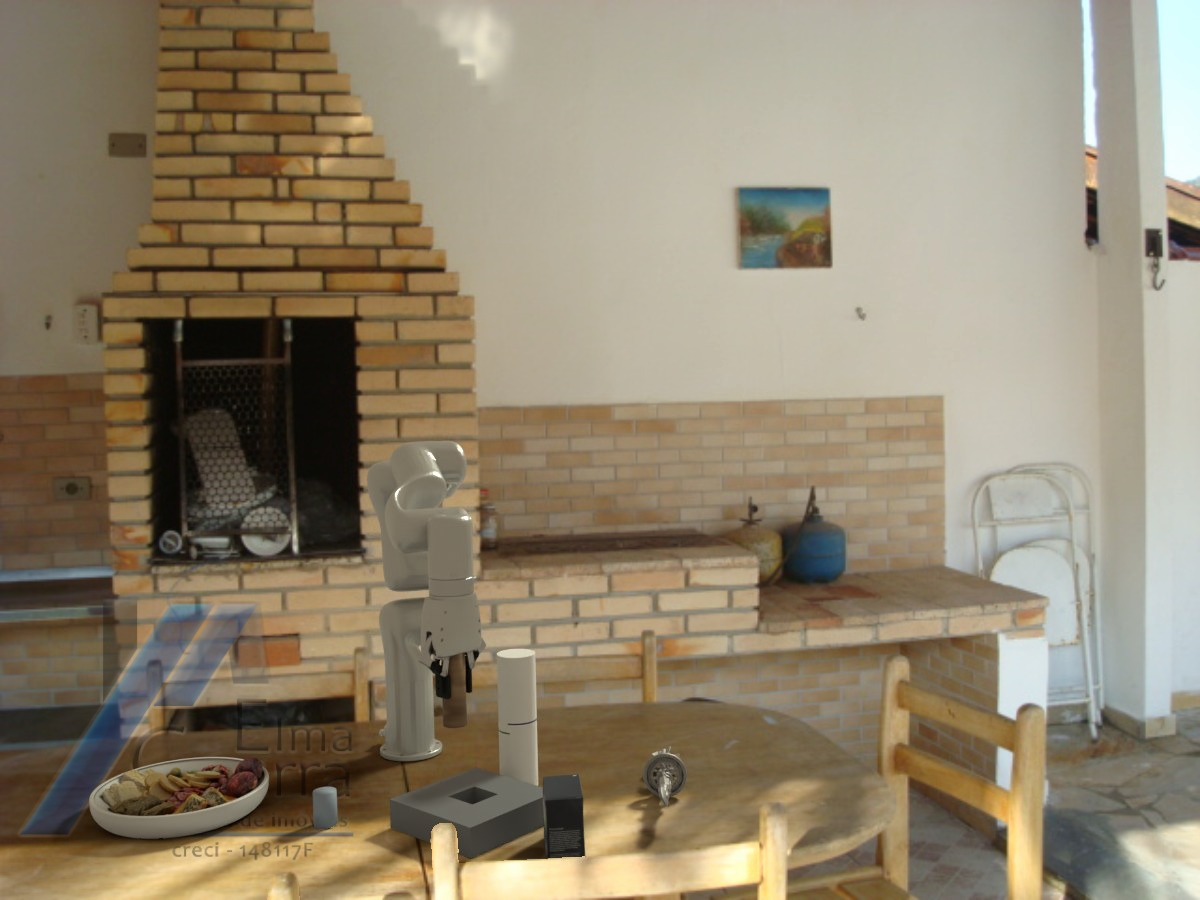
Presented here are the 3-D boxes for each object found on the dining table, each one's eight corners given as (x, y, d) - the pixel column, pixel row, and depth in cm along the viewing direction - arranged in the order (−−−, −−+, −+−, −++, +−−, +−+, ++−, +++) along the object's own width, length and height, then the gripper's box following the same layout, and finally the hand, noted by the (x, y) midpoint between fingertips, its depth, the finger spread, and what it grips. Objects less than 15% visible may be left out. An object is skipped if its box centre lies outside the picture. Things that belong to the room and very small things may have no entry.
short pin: (309, 825, 195) (307, 791, 194) (328, 818, 198) (327, 785, 197) (323, 831, 192) (321, 796, 192) (342, 824, 195) (341, 790, 195)
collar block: (390, 828, 193) (389, 799, 193) (476, 793, 208) (476, 767, 208) (471, 858, 180) (470, 827, 180) (556, 819, 195) (556, 791, 195)
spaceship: (632, 788, 188) (677, 769, 187) (639, 742, 223) (676, 726, 222) (651, 833, 187) (696, 814, 187) (654, 780, 222) (692, 764, 222)
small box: (542, 836, 188) (541, 774, 187) (581, 834, 189) (580, 772, 188) (545, 863, 178) (543, 798, 177) (586, 861, 178) (585, 796, 178)
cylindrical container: (532, 793, 208) (529, 658, 206) (495, 791, 209) (491, 657, 208) (542, 779, 215) (539, 649, 213) (506, 777, 216) (502, 648, 215)
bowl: (97, 861, 183) (95, 813, 182) (84, 801, 209) (82, 759, 209) (286, 823, 197) (284, 778, 196) (251, 771, 223) (250, 732, 223)
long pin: (438, 725, 191) (435, 643, 191) (456, 719, 194) (454, 638, 193) (453, 729, 189) (451, 646, 188) (471, 723, 192) (469, 642, 191)
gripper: (473, 577, 199) (476, 680, 200) (397, 592, 186) (400, 701, 188) (503, 582, 194) (505, 687, 195) (426, 597, 181) (429, 710, 183)
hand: (454, 693), depth 191 cm, fingers closed on long pin, 4 cm apart
